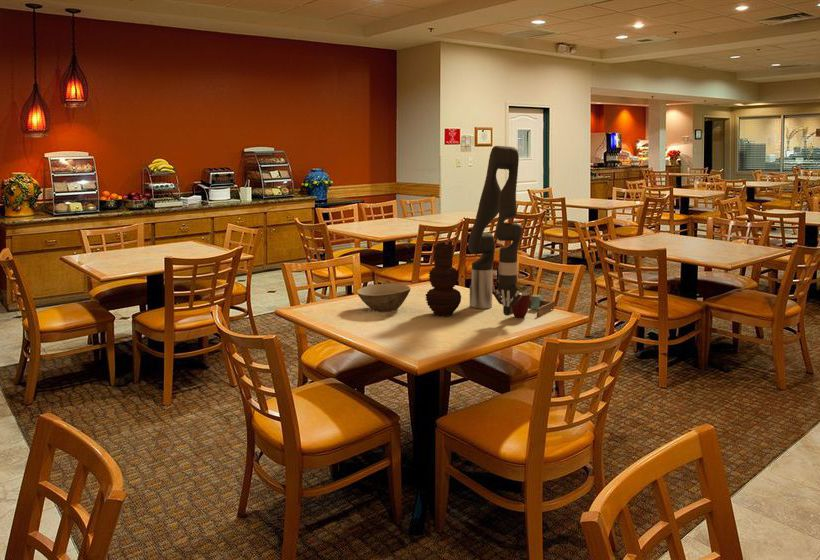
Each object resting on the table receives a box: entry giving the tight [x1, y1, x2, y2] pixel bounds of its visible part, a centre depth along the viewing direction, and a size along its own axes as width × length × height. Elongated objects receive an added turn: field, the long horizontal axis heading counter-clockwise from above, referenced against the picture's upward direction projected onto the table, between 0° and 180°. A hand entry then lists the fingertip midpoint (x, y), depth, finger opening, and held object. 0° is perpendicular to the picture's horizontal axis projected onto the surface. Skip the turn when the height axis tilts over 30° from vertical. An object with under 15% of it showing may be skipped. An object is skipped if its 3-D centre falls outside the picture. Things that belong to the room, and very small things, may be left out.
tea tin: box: [530, 294, 544, 311], centre depth 303 cm, size 4×4×6 cm
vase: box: [424, 243, 462, 318], centre depth 292 cm, size 15×15×30 cm
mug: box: [511, 291, 531, 319], centre depth 288 cm, size 11×8×10 cm
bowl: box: [356, 283, 411, 313], centre depth 304 cm, size 24×24×10 cm
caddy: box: [511, 298, 555, 318], centre depth 299 cm, size 13×17×4 cm
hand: (507, 314), depth 278 cm, fingers closed
